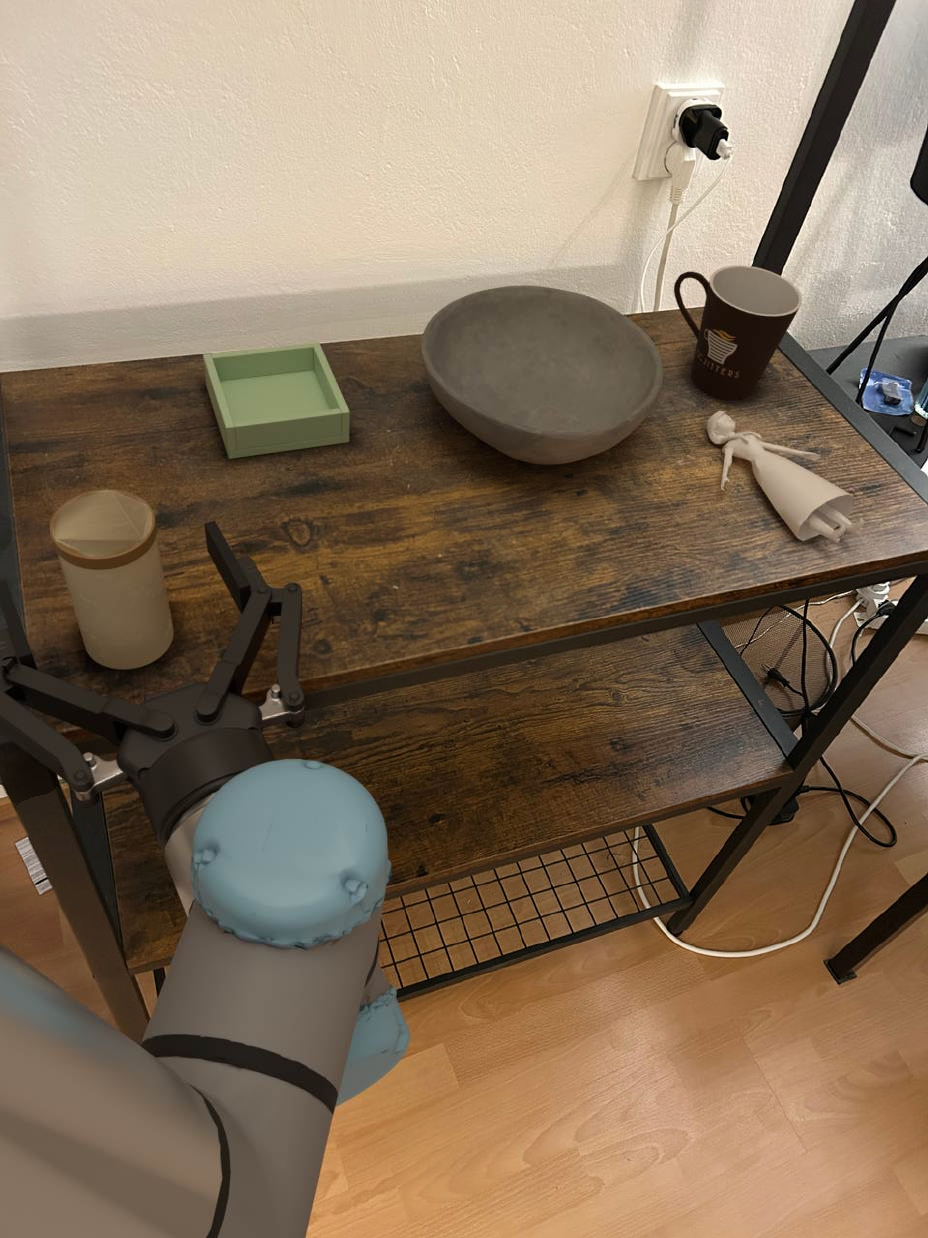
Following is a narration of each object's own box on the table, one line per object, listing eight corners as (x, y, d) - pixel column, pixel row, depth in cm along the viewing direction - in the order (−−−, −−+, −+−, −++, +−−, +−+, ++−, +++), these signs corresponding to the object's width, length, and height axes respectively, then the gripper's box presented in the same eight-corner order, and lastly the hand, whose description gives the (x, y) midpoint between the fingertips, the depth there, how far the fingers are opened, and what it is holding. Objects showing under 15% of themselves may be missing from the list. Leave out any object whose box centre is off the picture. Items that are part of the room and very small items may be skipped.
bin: (228, 459, 81) (225, 427, 79) (206, 385, 87) (202, 354, 85) (349, 442, 84) (350, 411, 82) (319, 372, 90) (319, 341, 88)
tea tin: (87, 679, 65) (54, 566, 57) (78, 611, 69) (44, 496, 61) (182, 660, 67) (162, 548, 59) (167, 595, 71) (147, 482, 63)
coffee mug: (781, 400, 96) (820, 310, 88) (707, 412, 93) (741, 321, 85) (720, 334, 102) (751, 245, 95) (650, 344, 100) (676, 253, 92)
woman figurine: (806, 533, 76) (668, 411, 87) (788, 574, 79) (657, 452, 90) (909, 496, 81) (766, 385, 91) (888, 537, 84) (752, 425, 94)
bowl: (688, 471, 87) (715, 398, 81) (483, 528, 79) (497, 452, 73) (567, 341, 98) (583, 268, 92) (378, 380, 91) (383, 303, 85)
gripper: (6, 950, 51) (-75, 661, 62) (423, 772, 61) (289, 550, 72) (-34, 887, 45) (-114, 582, 57) (433, 703, 55) (286, 474, 66)
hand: (111, 564), depth 64 cm, fingers open, 13 cm apart
